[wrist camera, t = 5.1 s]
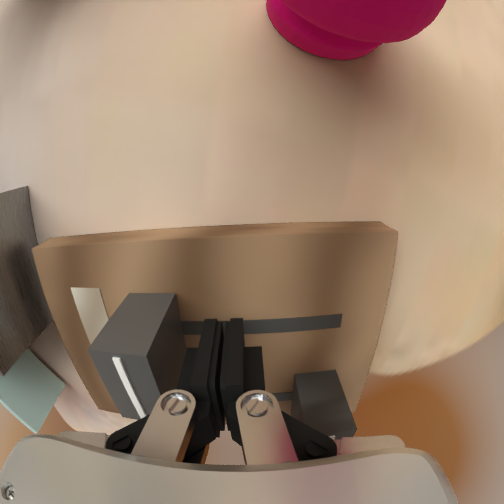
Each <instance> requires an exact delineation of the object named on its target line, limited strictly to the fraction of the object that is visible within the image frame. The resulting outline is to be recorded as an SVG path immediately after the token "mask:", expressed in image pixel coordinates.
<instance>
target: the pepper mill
mask: <svg viewBox="0 0 504 504" xmlns="http://www.w3.org/2000/svg"><path fill="white" fill-rule="evenodd" d="M445 2H446V0H267V3H266V7H267V13H268V16H269V18H270V20H271V22H272V24H273V25H274V27H275V28H276V29H277V30H278V32H279V33H280V34H281V35H282V36H283V37H285V38H286V39H287V40H288V41H289V42H291V43H292V44H294V45H295V46H297V47H299V48H300V49H302V50H304V51H306V52H308V53H311V54H314V55H317V56H320V57H324V58H329V59H335V60H348V59H355V58H359V57H362V56H365V55H367V54H368V53H370V52H371V51H373V50H374V49H375V48H377V47H378V46H379V45H381V44H382V43H391V42H399V41H403V40H407V39H409V38H411V37H413V36H415V35H417V34H418V33H419V32H421V31H422V30H423V29H424V28H426V27H427V26H428V25H430V24H431V23H432V22H433V21H434V20H435V18H436V17H437V15H438V14H439V12H440V11H441V9H442V8H443V6H444V4H445Z"/></svg>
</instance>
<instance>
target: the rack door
mask: <svg viewBox="0 0 504 504" xmlns="http://www.w3.org/2000/svg"><path fill="white" fill-rule="evenodd" d="M65 385H66V384H65V383H63V382H62V381H61V380H60V379H59V378H58V377H57V376H56V375H54V374H53V373H52V372H51V371H50V370H49V369H48V368H47V367H46V366H45V365H44V364H43V363H42V362H41V361H40V360H39V359H38V358H37V357H36V356H35V355H34V354H33V353H32V352H31V351H30V350H29V349H28V348H27V349H26V350H25V352H24V353H23V354H22V355H21V356H20V357H19V359H18V360H17V361H16V362H15V363H14V365H13V366H12V367H11V368H10V369H9V371H8V372H7V373H6V374H5V376H4V377H3V376H1V375H0V403H2V405H3V406H4V407H5V408H7V409H8V410H9V411H10V412H11V413H12V414H13V415H14V416H15V417H16V418H17V419H18V420H19V421H21V422H22V423H23V424H24V425H26V427H28V428H29V429H30V430H31V431H32V432H34V433H35V434H37V433H38V431H39V430H40V428H41V426H42V424H43V422H44V420H45V419H46V417H47V415H48V414H49V412H50V410H51V408H52V407H53V405H54V403H55V402H56V400H57V398H58V397H59V395H60V393H61V392H62V390H63V389H64V387H65Z"/></svg>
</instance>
